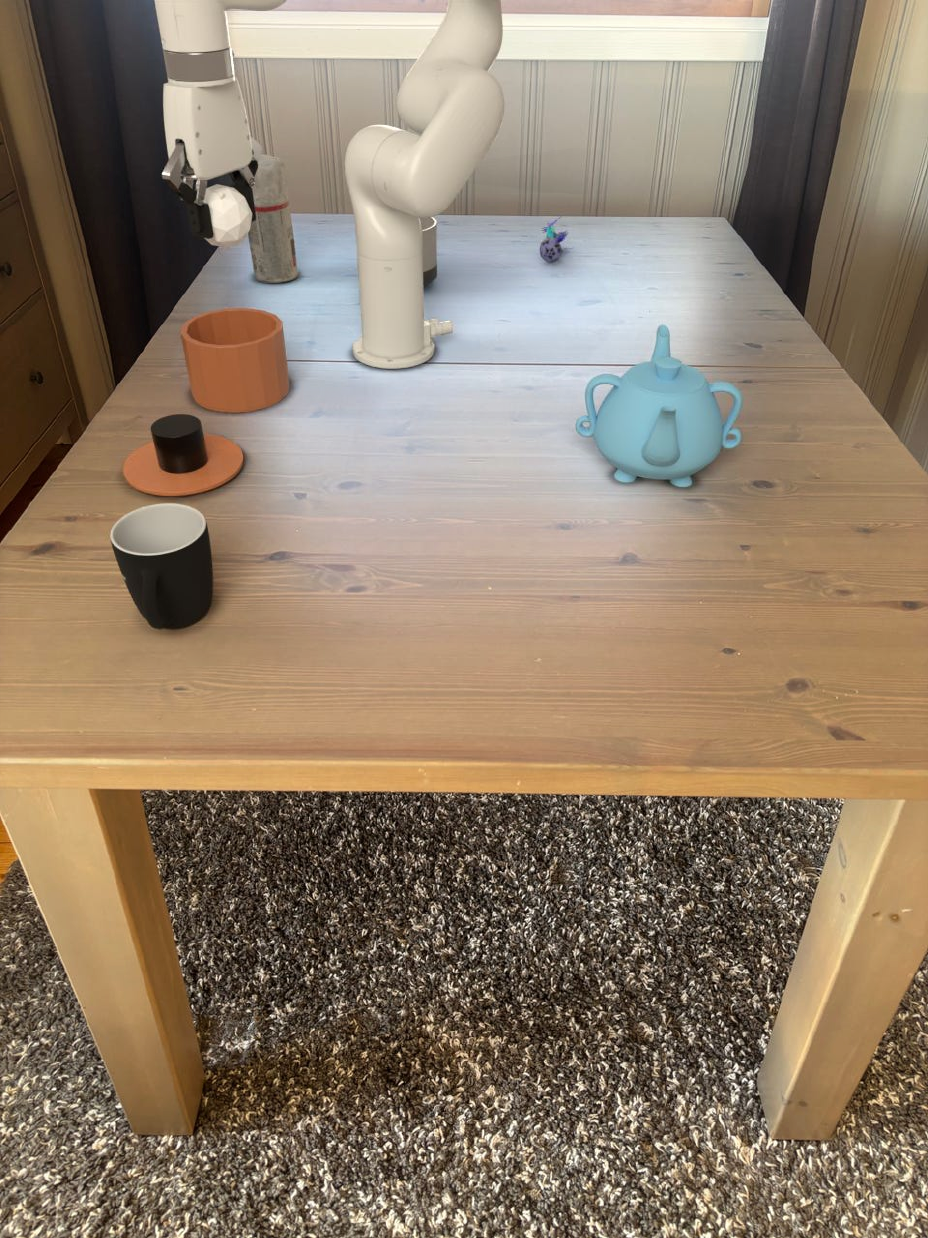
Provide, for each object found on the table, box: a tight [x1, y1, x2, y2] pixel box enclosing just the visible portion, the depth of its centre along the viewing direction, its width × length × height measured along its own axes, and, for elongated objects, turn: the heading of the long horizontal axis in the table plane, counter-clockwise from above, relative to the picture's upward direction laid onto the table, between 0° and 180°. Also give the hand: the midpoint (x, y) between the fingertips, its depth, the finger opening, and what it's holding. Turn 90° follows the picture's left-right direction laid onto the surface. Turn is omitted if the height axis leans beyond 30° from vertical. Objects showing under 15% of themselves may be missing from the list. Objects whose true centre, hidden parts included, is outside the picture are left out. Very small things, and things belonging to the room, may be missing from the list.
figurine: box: [539, 216, 573, 264], centre depth 180 cm, size 7×6×12 cm
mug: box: [109, 502, 214, 630], centre depth 92 cm, size 12×9×10 cm
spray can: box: [247, 154, 299, 284], centre depth 164 cm, size 8×8×20 cm
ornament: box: [204, 183, 252, 249], centre depth 117 cm, size 7×7×8 cm
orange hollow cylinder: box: [179, 307, 290, 414], centre depth 132 cm, size 14×14×10 cm
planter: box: [420, 217, 438, 287], centre depth 166 cm, size 13×13×10 cm
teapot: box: [575, 324, 744, 488], centre depth 115 cm, size 16×20×14 cm
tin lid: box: [122, 413, 244, 497], centre depth 116 cm, size 15×15×6 cm
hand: (224, 226), depth 118 cm, fingers closed on ornament, 7 cm apart
